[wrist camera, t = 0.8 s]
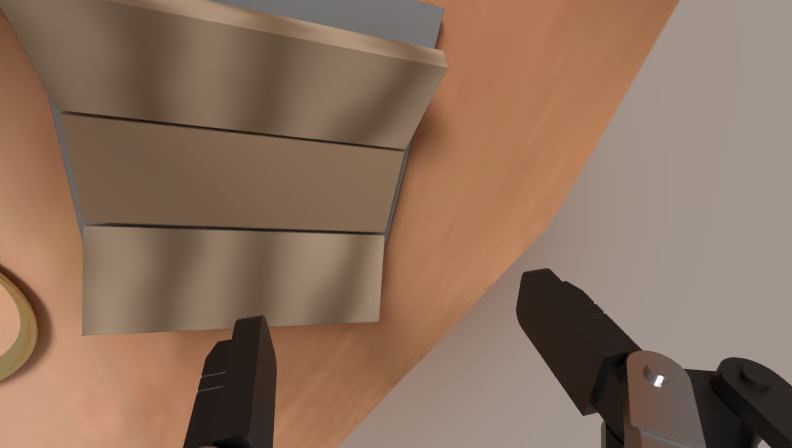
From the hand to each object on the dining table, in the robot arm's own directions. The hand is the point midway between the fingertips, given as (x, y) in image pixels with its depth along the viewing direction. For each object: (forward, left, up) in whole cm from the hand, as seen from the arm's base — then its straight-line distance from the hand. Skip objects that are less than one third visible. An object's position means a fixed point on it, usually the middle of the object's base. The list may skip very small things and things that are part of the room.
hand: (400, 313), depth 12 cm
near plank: (-5, +2, -19) cm, 19 cm away
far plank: (-5, -14, -19) cm, 24 cm away
